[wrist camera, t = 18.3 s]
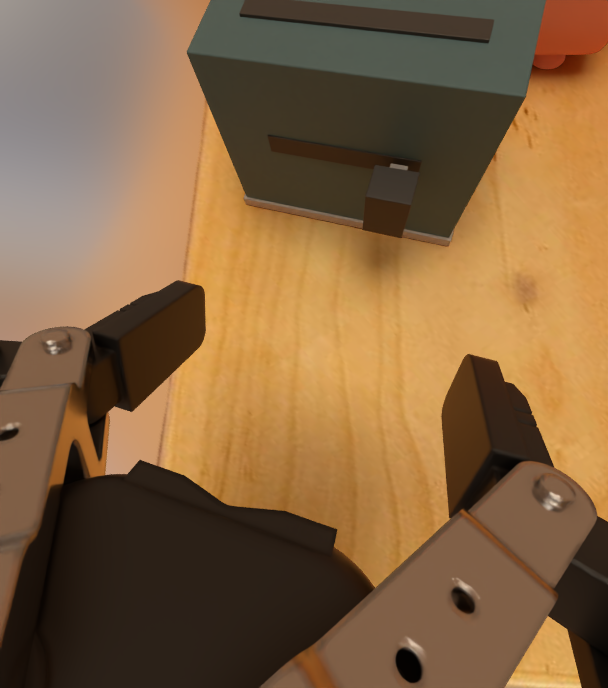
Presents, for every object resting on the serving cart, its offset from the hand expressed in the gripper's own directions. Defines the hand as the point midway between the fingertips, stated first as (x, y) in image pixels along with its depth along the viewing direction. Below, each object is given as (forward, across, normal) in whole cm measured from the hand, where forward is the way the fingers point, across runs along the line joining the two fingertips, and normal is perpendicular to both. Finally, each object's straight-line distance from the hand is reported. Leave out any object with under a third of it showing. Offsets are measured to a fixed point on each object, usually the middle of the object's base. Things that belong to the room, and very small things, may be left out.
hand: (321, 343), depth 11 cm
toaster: (+23, +3, -3) cm, 23 cm away
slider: (+14, -1, -2) cm, 14 cm away
